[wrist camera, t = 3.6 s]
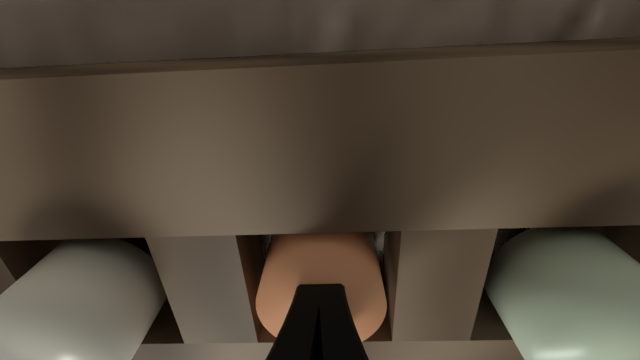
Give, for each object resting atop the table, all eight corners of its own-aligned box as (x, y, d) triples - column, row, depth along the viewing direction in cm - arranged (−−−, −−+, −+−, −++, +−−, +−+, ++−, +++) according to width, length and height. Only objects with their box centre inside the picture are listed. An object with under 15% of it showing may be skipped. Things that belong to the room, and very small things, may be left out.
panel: (93, 358, 16) (52, 418, 14) (-78, 72, 10) (-208, 91, 7) (580, 354, 15) (627, 418, 13) (746, 32, 9) (903, 38, 6)
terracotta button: (277, 284, 13) (264, 351, 11) (265, 203, 12) (246, 259, 9) (372, 283, 13) (383, 350, 11) (375, 200, 11) (390, 256, 9)
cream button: (78, 319, 12) (9, 402, 10) (30, 235, 10) (-71, 310, 8) (180, 317, 12) (138, 402, 9) (149, 232, 10) (87, 307, 8)
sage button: (474, 313, 12) (517, 401, 9) (496, 223, 10) (558, 300, 7) (587, 312, 12) (665, 401, 9) (631, 220, 10) (745, 298, 7)
